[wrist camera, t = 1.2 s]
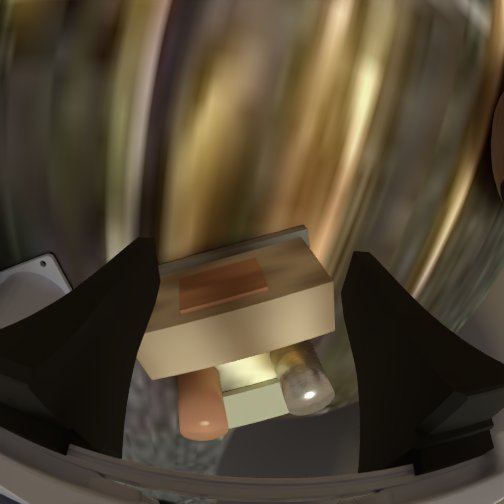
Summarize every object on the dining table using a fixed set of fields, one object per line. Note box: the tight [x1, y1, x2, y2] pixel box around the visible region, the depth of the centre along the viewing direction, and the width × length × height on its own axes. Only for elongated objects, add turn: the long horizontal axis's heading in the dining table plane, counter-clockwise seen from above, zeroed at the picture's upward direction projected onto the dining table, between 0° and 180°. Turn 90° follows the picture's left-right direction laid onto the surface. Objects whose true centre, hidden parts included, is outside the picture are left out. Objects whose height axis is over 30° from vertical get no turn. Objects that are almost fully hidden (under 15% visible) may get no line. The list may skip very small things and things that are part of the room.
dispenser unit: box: [137, 225, 335, 380], centre depth 20 cm, size 13×5×6 cm, turn 101°
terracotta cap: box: [177, 366, 229, 441], centre depth 25 cm, size 4×4×6 cm
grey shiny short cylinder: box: [270, 339, 335, 415], centre depth 25 cm, size 4×4×6 cm
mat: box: [222, 378, 290, 428], centre depth 31 cm, size 10×7×1 cm
